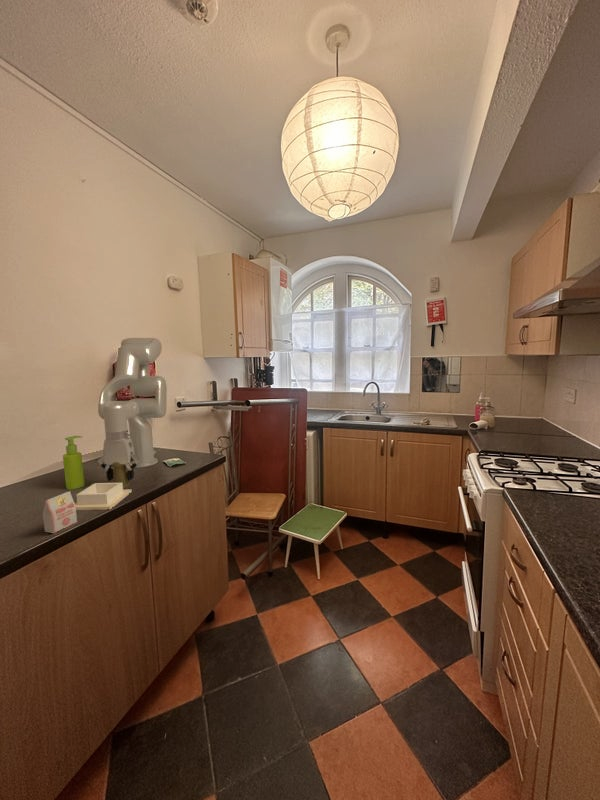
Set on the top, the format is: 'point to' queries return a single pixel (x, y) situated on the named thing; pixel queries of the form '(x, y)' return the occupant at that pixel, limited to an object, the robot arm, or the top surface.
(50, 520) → the white carton
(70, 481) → the soap dispenser
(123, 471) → the cork
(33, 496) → the top surface
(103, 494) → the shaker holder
